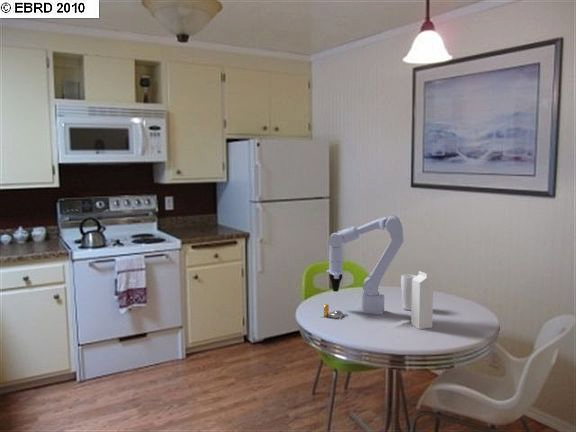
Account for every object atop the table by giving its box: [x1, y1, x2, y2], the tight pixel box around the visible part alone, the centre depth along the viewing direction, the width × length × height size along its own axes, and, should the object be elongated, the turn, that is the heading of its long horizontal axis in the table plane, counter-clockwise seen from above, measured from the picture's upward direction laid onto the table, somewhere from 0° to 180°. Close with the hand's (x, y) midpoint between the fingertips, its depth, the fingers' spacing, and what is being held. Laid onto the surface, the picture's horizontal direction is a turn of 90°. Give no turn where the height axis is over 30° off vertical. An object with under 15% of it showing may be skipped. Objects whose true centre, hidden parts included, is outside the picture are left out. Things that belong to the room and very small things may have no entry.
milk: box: [410, 270, 434, 330], centre depth 193 cm, size 6×6×22 cm
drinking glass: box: [400, 273, 417, 311], centre depth 216 cm, size 7×7×15 cm
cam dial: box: [323, 304, 348, 320], centre depth 204 cm, size 10×8×5 cm
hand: (335, 291), depth 213 cm, fingers closed
